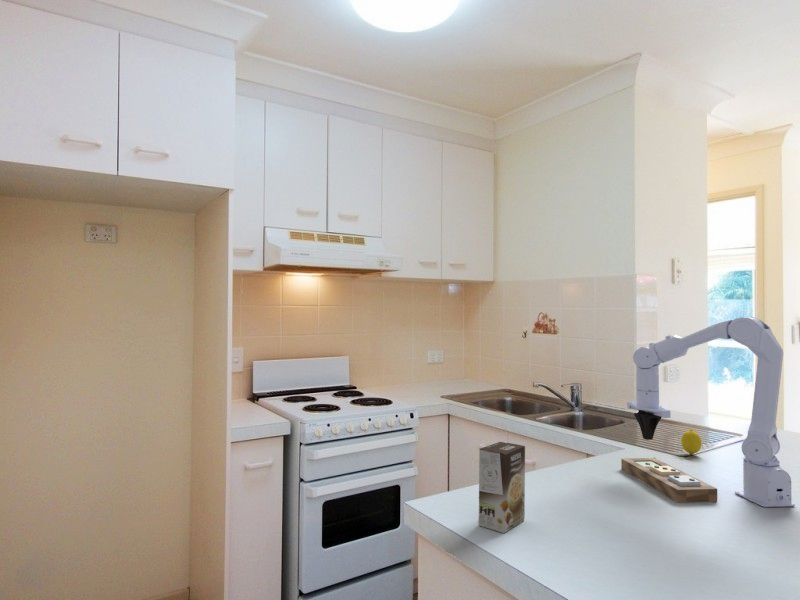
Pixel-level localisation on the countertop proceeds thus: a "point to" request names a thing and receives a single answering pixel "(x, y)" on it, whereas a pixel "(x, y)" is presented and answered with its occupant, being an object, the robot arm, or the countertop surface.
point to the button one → (647, 463)
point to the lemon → (691, 442)
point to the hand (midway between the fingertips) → (647, 439)
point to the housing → (668, 482)
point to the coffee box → (501, 486)
